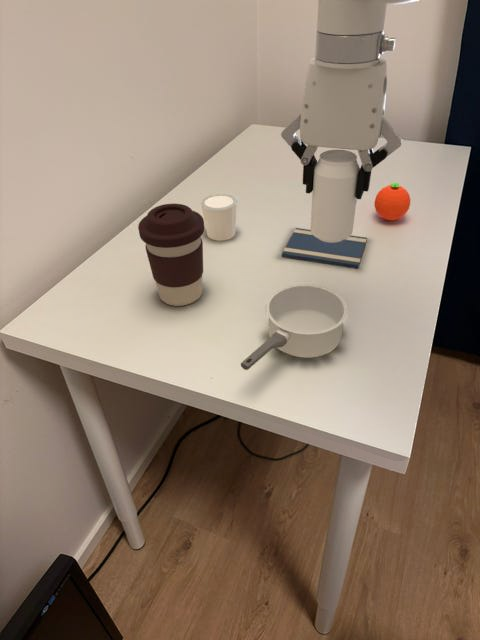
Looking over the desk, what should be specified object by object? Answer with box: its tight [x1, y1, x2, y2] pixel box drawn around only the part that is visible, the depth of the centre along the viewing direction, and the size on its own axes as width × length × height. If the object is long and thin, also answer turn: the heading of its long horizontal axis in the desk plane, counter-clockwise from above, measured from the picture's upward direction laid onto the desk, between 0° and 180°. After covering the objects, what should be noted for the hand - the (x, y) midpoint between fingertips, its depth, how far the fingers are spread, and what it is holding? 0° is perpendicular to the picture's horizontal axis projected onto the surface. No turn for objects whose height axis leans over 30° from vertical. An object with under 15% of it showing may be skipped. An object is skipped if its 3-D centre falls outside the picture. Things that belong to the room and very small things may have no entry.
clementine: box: [374, 182, 411, 221], centre depth 97 cm, size 8×7×7 cm
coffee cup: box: [137, 203, 205, 307], centre depth 77 cm, size 10×10×15 cm
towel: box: [281, 227, 368, 270], centre depth 91 cm, size 14×10×1 cm
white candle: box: [200, 193, 238, 242], centre depth 95 cm, size 7×7×7 cm
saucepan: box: [240, 283, 348, 371], centre depth 68 cm, size 12×20×6 cm, turn 141°
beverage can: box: [310, 149, 361, 243], centre depth 68 cm, size 6×6×12 cm
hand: (334, 191), depth 68 cm, fingers closed on beverage can, 6 cm apart
